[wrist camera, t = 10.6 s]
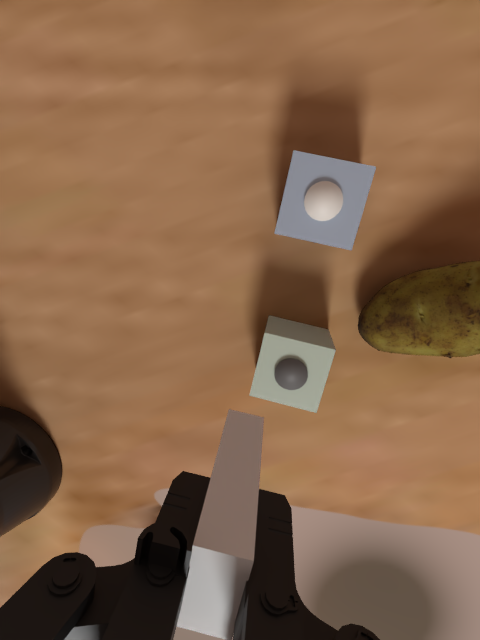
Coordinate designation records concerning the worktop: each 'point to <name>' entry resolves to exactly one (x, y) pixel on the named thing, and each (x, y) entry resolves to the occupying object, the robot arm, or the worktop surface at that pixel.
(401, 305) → the potato
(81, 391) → the worktop surface
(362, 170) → the slate blue block
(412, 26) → the worktop surface
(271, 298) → the worktop surface
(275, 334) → the sage block
